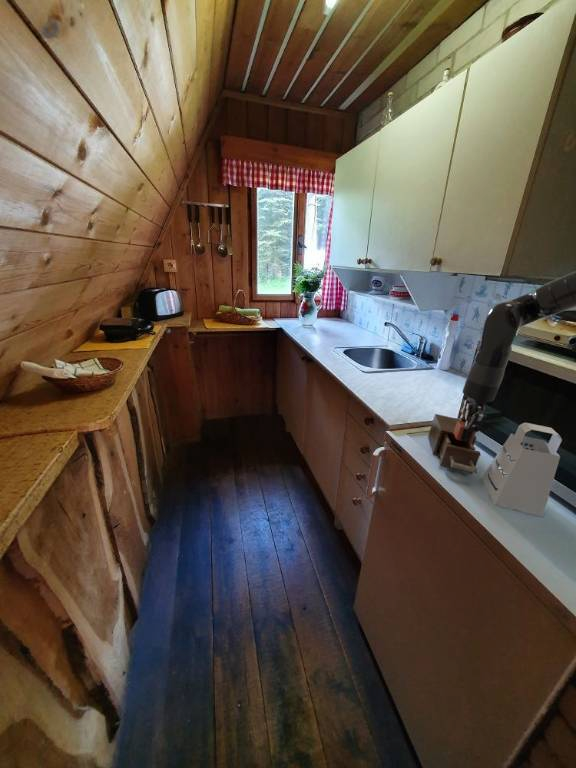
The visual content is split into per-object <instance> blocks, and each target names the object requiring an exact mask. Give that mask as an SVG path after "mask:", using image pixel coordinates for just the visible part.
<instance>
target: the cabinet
mask: <svg viewBox="0 0 576 768" xmlns="http://www.w3.org/2000/svg"><path fill="white" fill-rule="evenodd" d="M457 421H461V420H460V418H456V417H452V416H447V415H442V414H437V413H435V414H434V416H433V420H432V423H431V425H430V430H429V432H428V436H427V437H428V442H429V444H430V448H431V452H432V455H434V456H438V457H440V455H439V451H438V447H439V444H440V441H441V438H442V435H443V433H446V434H450V435H454V433H453V432H454V429H455V426H456V424H457ZM476 441H477V436H476V435H475V436H474V439H473V441H472V444H473V446H474V445H475V443H476ZM474 447H475V446H474Z"/></svg>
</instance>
